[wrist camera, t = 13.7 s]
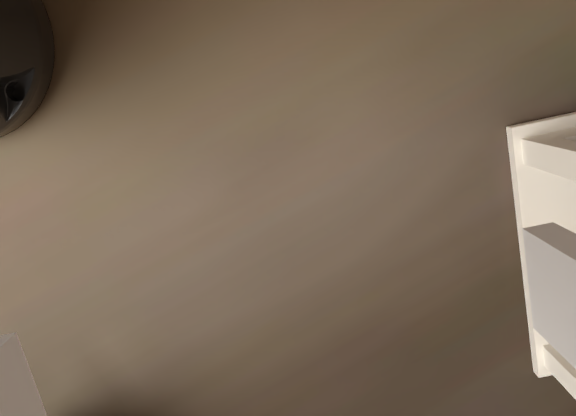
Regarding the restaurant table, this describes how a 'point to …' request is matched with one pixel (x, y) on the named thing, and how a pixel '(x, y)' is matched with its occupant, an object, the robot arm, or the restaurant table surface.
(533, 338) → the collar stand
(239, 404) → the restaurant table surface
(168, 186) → the restaurant table surface
